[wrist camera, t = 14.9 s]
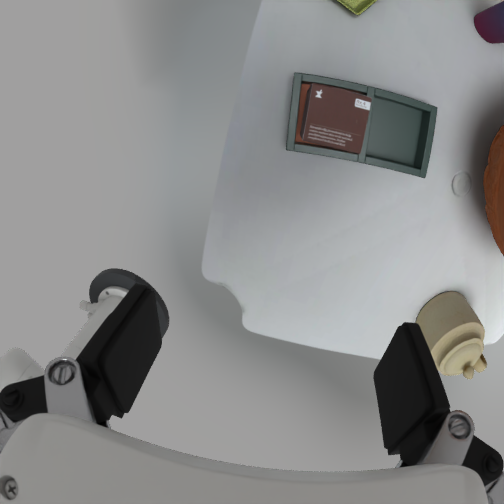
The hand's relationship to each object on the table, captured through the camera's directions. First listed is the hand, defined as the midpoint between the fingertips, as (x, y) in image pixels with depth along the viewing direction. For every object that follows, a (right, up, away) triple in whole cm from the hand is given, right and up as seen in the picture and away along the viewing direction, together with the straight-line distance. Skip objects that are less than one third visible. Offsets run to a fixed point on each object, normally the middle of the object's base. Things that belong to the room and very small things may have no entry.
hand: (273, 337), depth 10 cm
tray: (+12, +19, +20) cm, 30 cm away
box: (+8, +19, +20) cm, 29 cm away
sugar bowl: (+35, -8, +31) cm, 48 cm away
